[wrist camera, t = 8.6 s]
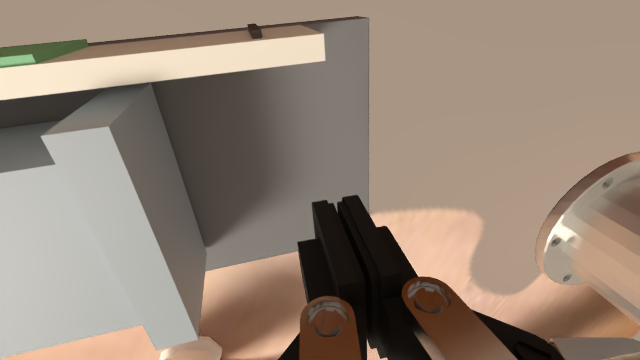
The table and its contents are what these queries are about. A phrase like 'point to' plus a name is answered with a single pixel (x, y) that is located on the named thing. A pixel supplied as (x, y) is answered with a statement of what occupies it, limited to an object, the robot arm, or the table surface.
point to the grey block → (97, 228)
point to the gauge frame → (228, 118)
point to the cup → (193, 350)
